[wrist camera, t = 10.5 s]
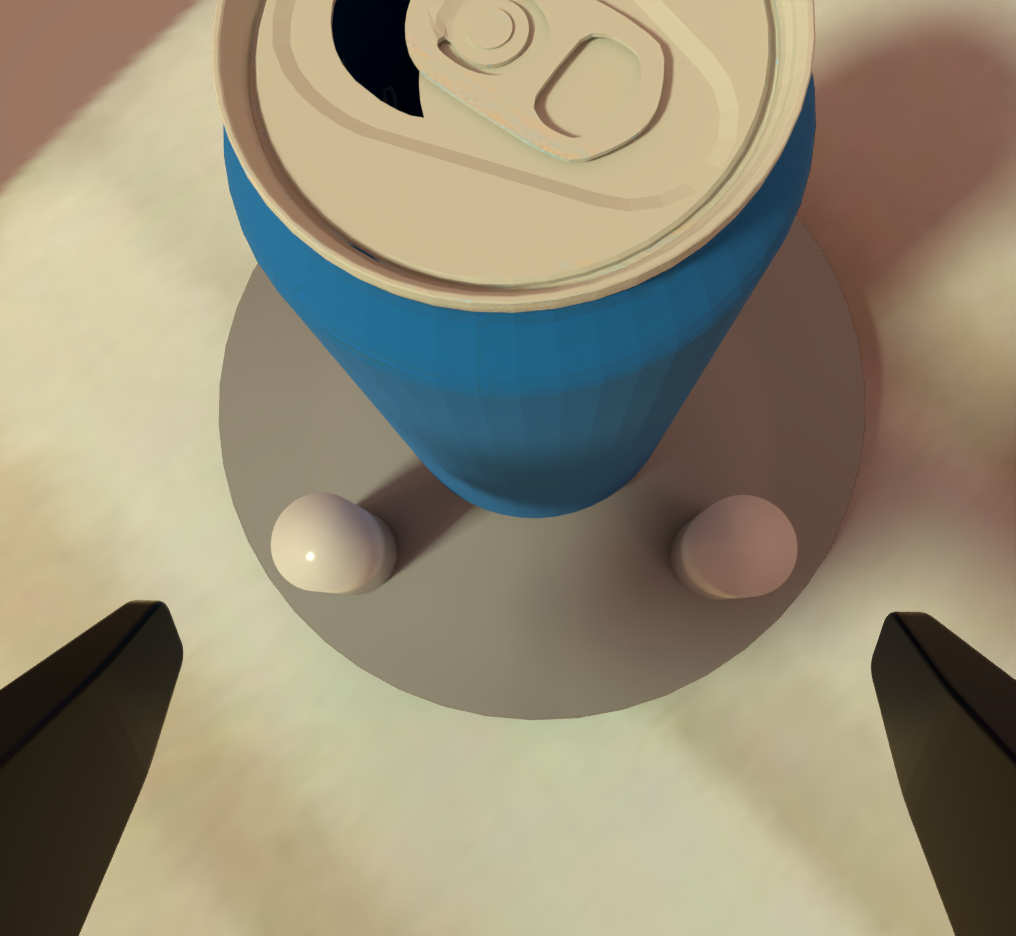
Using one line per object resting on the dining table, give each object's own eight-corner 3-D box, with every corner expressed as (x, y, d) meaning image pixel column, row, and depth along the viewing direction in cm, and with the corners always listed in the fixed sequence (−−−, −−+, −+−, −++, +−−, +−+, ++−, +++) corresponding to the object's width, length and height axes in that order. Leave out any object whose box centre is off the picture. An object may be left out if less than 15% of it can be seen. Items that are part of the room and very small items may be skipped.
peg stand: (868, 720, 18) (962, 751, 14) (212, 706, 19) (118, 731, 15) (825, 118, 21) (891, -2, 17) (261, 131, 22) (194, 20, 18)
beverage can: (507, 225, 20) (440, -354, 8) (718, 363, 19) (1002, -67, 7) (353, 422, 19) (26, 103, 7) (565, 576, 18) (591, 502, 6)
